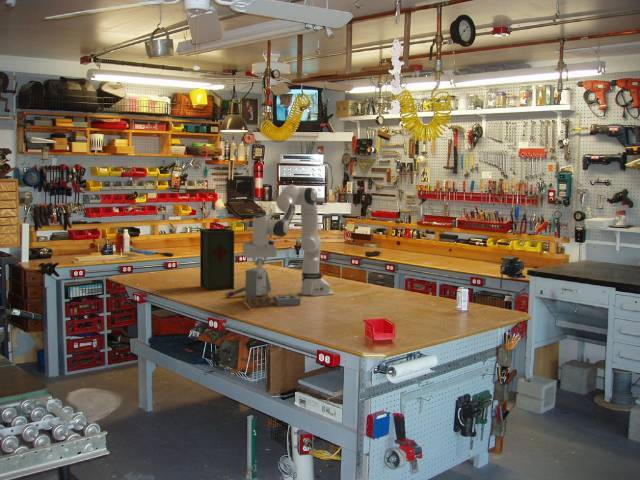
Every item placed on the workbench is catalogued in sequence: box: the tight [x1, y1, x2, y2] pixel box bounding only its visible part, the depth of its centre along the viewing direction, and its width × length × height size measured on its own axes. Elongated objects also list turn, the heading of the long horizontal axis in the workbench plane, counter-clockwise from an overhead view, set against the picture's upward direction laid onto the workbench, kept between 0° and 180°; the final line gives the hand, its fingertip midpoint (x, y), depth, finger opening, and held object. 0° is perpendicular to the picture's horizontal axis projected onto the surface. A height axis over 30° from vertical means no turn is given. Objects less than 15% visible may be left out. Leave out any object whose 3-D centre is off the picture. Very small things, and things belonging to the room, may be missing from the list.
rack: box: [247, 294, 272, 310], centre depth 389 cm, size 12×10×6 cm
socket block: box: [273, 295, 301, 307], centre depth 394 cm, size 14×10×5 cm
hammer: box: [224, 271, 272, 299], centre depth 421 cm, size 15×8×30 cm
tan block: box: [289, 291, 298, 298], centre depth 395 cm, size 3×5×6 cm, turn 16°
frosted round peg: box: [256, 257, 263, 279], centre depth 387 cm, size 3×3×12 cm
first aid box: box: [199, 227, 235, 292], centre depth 446 cm, size 18×18×40 cm
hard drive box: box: [244, 266, 267, 303], centre depth 406 cm, size 16×8×20 cm, turn 162°
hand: (259, 264), depth 387 cm, fingers closed on frosted round peg, 3 cm apart
